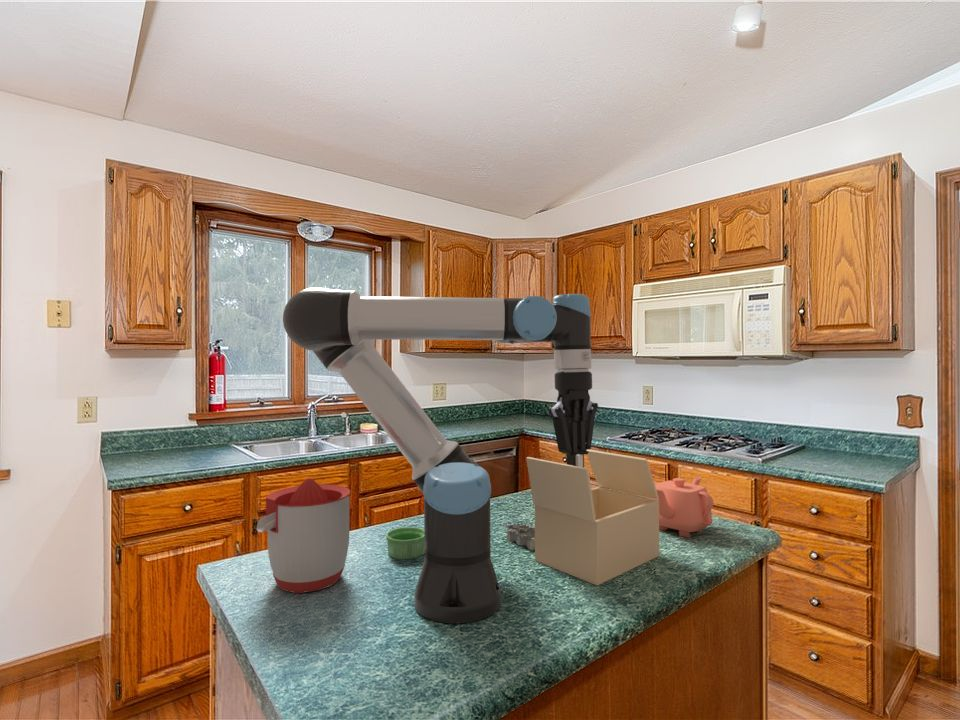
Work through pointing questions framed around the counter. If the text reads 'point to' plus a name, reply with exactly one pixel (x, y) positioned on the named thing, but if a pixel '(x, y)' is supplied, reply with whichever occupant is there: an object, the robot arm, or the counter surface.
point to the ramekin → (405, 542)
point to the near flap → (561, 488)
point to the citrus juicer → (307, 535)
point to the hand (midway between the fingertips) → (575, 486)
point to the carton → (599, 536)
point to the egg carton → (521, 534)
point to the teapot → (683, 506)
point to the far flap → (622, 473)
